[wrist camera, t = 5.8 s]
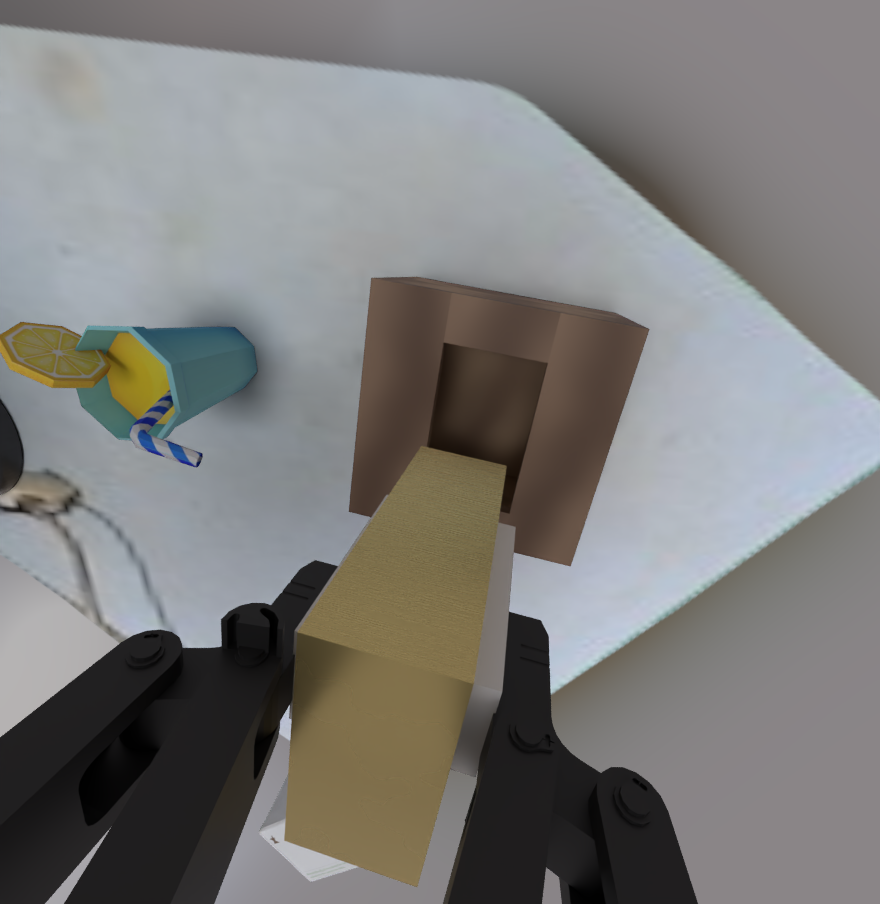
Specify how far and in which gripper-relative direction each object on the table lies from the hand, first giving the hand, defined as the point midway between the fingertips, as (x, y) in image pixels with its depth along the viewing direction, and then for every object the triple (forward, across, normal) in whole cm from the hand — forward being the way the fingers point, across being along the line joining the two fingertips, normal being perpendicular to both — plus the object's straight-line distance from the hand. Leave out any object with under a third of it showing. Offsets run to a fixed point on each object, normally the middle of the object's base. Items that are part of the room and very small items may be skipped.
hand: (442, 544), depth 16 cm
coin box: (+21, 0, 0) cm, 21 cm away
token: (+1, 0, 0) cm, 1 cm away
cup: (+21, -21, -2) cm, 30 cm away
